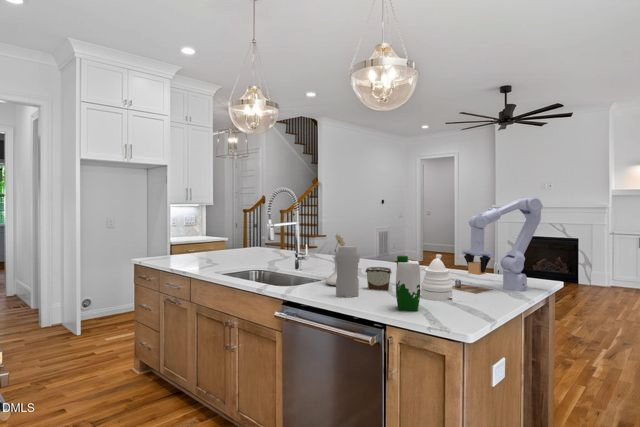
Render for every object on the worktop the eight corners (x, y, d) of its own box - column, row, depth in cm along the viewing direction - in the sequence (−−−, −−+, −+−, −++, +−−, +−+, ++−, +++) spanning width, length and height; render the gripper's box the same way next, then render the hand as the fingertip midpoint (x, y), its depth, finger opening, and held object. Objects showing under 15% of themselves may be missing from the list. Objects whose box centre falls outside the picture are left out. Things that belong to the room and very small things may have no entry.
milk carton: (395, 305, 158) (396, 254, 158) (419, 306, 157) (419, 255, 156) (395, 311, 150) (396, 257, 149) (420, 312, 148) (421, 258, 147)
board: (493, 292, 182) (493, 289, 182) (476, 296, 173) (476, 293, 173) (462, 286, 195) (462, 283, 195) (444, 290, 186) (444, 287, 186)
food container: (393, 288, 189) (393, 267, 189) (391, 291, 183) (391, 269, 183) (367, 286, 193) (368, 266, 193) (365, 289, 187) (365, 268, 187)
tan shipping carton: (485, 273, 183) (485, 262, 182) (479, 275, 179) (479, 263, 179) (474, 272, 187) (474, 261, 187) (468, 273, 183) (468, 262, 183)
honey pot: (427, 292, 181) (427, 252, 181) (456, 296, 174) (456, 254, 173) (416, 297, 171) (417, 255, 170) (446, 302, 163) (447, 258, 163)
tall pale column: (335, 297, 170) (335, 246, 170) (334, 295, 175) (334, 245, 174) (360, 297, 171) (360, 245, 171) (358, 295, 175) (358, 244, 175)
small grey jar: (462, 287, 185) (462, 279, 185) (458, 288, 184) (459, 280, 184) (457, 286, 187) (457, 278, 187) (453, 287, 186) (454, 279, 186)
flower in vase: (349, 287, 192) (349, 235, 191) (325, 287, 192) (325, 234, 191) (347, 281, 205) (348, 233, 204) (325, 281, 205) (325, 232, 204)
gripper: (458, 241, 186) (457, 270, 186) (487, 243, 174) (487, 274, 175) (466, 240, 190) (466, 268, 191) (496, 242, 179) (495, 273, 179)
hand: (476, 271), depth 183 cm, fingers closed on tan shipping carton, 5 cm apart
